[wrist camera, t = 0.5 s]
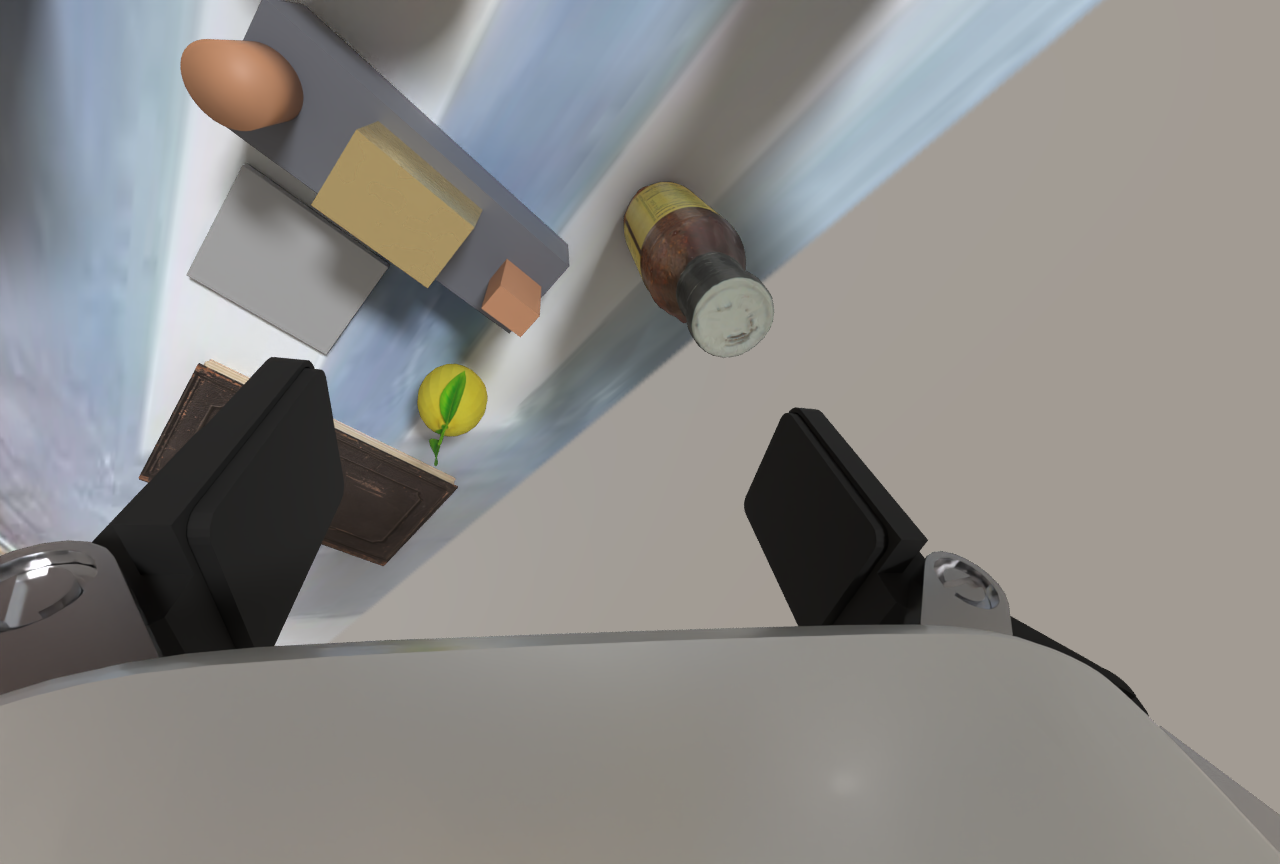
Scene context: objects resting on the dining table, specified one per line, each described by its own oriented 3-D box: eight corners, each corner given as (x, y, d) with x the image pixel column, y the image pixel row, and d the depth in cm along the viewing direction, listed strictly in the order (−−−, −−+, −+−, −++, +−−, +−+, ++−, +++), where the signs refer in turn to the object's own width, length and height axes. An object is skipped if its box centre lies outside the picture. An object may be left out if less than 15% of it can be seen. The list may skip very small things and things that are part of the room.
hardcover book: (212, 351, 41) (197, 365, 39) (460, 473, 52) (457, 488, 50) (152, 465, 46) (135, 482, 45) (386, 552, 58) (381, 568, 56)
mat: (247, 163, 33) (242, 165, 32) (390, 264, 38) (388, 267, 37) (191, 272, 36) (186, 275, 36) (328, 351, 41) (326, 354, 41)
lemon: (450, 415, 47) (429, 488, 39) (407, 369, 43) (375, 439, 36) (510, 386, 46) (500, 454, 38) (471, 336, 42) (451, 400, 34)
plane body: (298, -1, 28) (199, -21, 20) (567, 244, 39) (570, 293, 31) (247, 102, 31) (142, 119, 23) (513, 306, 41) (503, 366, 33)
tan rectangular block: (378, 121, 28) (356, 129, 25) (482, 210, 32) (474, 227, 29) (336, 189, 30) (311, 205, 27) (439, 266, 34) (427, 288, 30)
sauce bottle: (685, 266, 41) (764, 397, 26) (613, 251, 39) (650, 381, 24) (710, 183, 37) (820, 276, 22) (632, 162, 36) (690, 247, 20)
